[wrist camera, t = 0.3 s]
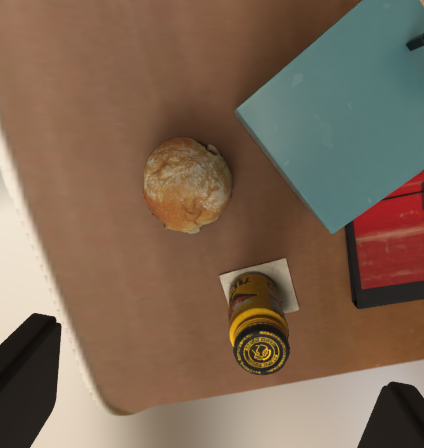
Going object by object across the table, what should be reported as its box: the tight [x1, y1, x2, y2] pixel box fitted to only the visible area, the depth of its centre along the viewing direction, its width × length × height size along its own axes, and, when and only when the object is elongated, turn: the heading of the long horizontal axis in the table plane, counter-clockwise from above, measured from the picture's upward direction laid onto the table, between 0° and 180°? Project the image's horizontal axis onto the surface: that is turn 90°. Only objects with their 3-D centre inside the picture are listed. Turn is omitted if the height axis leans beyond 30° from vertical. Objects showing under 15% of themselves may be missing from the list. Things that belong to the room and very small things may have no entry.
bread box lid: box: [236, 0, 424, 234], centre depth 25 cm, size 15×14×5 cm
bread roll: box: [143, 137, 233, 234], centre depth 37 cm, size 10×10×8 cm
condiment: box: [219, 258, 299, 375], centre depth 37 cm, size 7×8×12 cm
